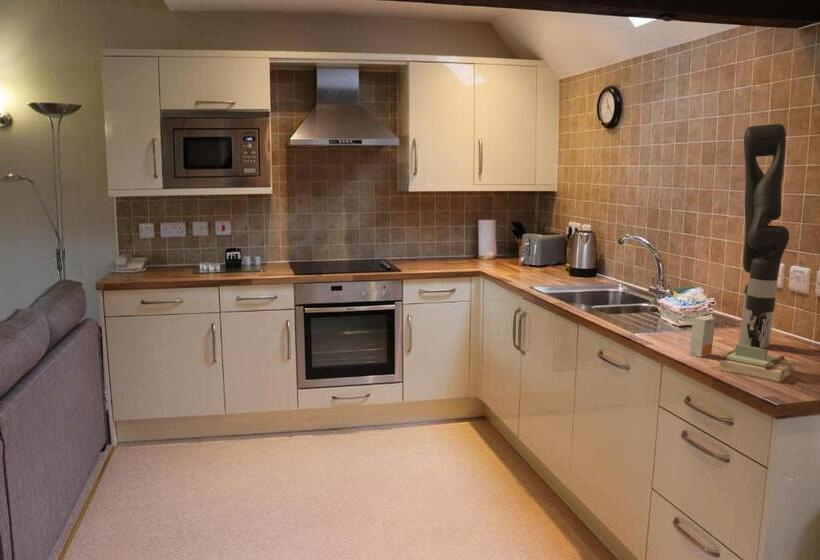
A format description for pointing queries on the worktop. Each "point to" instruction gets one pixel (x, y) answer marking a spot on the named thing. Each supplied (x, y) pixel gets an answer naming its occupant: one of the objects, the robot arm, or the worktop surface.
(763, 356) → the cover
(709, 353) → the skincare box
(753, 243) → the robot arm
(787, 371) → the board
